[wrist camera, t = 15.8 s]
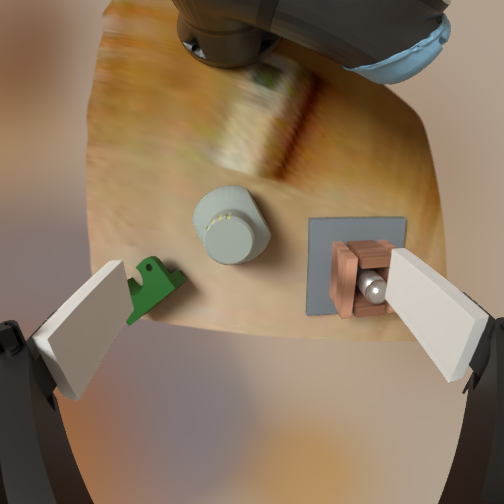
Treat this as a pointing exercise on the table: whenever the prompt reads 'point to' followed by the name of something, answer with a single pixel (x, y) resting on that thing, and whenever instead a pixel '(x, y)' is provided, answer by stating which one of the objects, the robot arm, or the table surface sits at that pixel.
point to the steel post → (371, 285)
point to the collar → (345, 272)
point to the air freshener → (231, 225)
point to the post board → (345, 230)
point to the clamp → (152, 286)
